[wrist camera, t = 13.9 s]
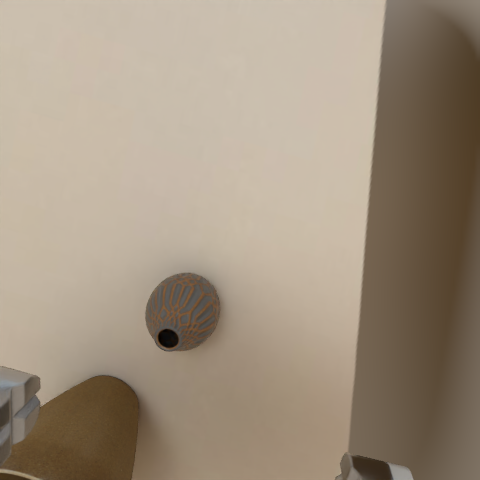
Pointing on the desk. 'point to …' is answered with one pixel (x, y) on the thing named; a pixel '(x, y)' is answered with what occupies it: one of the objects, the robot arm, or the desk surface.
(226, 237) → the desk surface
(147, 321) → the vase
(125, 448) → the plant pot
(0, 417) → the robot arm
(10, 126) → the desk surface
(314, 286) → the desk surface
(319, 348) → the desk surface
